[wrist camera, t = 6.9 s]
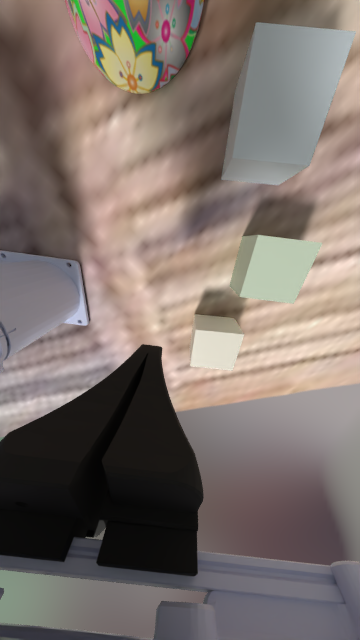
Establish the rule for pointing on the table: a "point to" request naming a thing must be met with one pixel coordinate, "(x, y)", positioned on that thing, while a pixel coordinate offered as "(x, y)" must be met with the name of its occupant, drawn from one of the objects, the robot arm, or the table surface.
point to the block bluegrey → (282, 100)
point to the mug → (136, 38)
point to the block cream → (215, 342)
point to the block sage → (272, 267)
